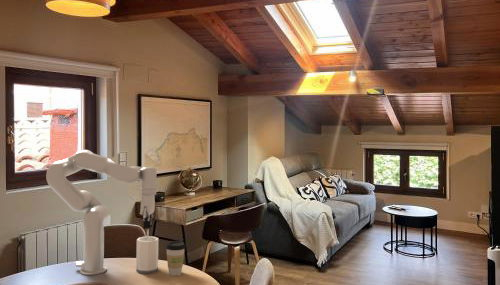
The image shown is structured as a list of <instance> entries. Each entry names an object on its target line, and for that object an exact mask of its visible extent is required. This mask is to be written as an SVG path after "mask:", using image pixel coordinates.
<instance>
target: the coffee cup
mask: <svg viewBox="0 0 500 285" xmlns="http://www.w3.org/2000/svg"><path fill="white" fill-rule="evenodd" d="M186 248H187V247H186V244H185V243H184V242H183V241H177V240H174V241H169V242H167V243H166V246H165V249H166V260H167V268H168V275H169V276H175V277H176V276H180V275H181V274H182V272H183V266H184V258H185V249H186Z"/></svg>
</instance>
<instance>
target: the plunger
mask: <svg viewBox="0 0 500 285" xmlns="http://www.w3.org/2000/svg"><path fill="white" fill-rule="evenodd" d="M149 221H150V225H152V226H153V218H152V219H151V218H150V219H149ZM149 234H150V229H146V236H147V241H149V236H150V235H149Z"/></svg>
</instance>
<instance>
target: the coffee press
mask: <svg viewBox="0 0 500 285" xmlns="http://www.w3.org/2000/svg"><path fill="white" fill-rule="evenodd" d="M135 255H136V260H135V261H136V262H135V264H136V265H135V267H136V268H135V270H136V273H138V274H142V275H150V274H154V273H157V272H158V271H159V237H156V236H150V235H149V241H147V235H146V236H141V237H140V236H139V237H138V238H137V239H136V254H135Z"/></svg>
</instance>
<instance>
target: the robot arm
mask: <svg viewBox="0 0 500 285" xmlns="http://www.w3.org/2000/svg"><path fill="white" fill-rule="evenodd" d="M82 170H88V171H90V172H95V173H98V174H101V175H104V176H106V177H109V178H111V179H114V180H117V181H121V182H125V183H129V184H133V183H136V182H137V181H140V195H141V197H140V198H141V200H140V212H139V214H140V215H141V216H142V217H143V220H142V221H143V225H142V226H143V230H145V229H146V230H147V229H149V230H150V229H151V227H153V224H152V225H150V221H149V219H150V218H151V219H152V220H153V218H154V216H153V213H154V212H155V208H156V204H155V203H156V202H155V199H156V195H157V174H158V173H157V172H158V171H157V168H156V167H154V166H137V165H134V166H133V165H132V166H127V165H122V164H120V163H117V162H116V161H115V162H114V161H113V160H112V159H111V158H109V157H106V156H103V155H99V154H96V153H94V152H92V151H91V150H88V149H83V150H79V151H76V152H75V154H73V155H71V156H68V157H67V158H65V159H62V160H57V161H54V162H53V163H51V164H50V166H48V167H47V170H46V173H45V174H46V175H45V177H46V182H47V184H48V187H50V189H51V190H52V191H53V192H54V193H55V194H56V195H57V196H59V198H60V199H61V200H62V201H63V202H64V203H65V204H66V205H67V206H68V207H69V208H70V209H71V210H72V211H74V212H76V213H77V212H83V213H84V215H83V217H82V228H83V261H76V262H75V267H76V268H80V269H79V272H80V274H81V275H86V276H93V275H100V274H103V273H105V272H107V270H108V267H107V266H106V265H104V260H105V259H104V257H105V256H104V254H105V229H104V222H105V221H107V219H108V216H109V211H108V209H107V207H106V206H105V205H104V204H103V203H102V202H101V201H100V200H99V199H98V198H97V197H96V196H95V195H94V194H93V193H92V192H91V191H89V190H83V189H82V190H80V189H78V187H76V186H75V184H73V183H72V182H71V181H70V180H68V178H67V177H68V176H71V175H73V174H75V173H77V172H79V171H82Z"/></svg>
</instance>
